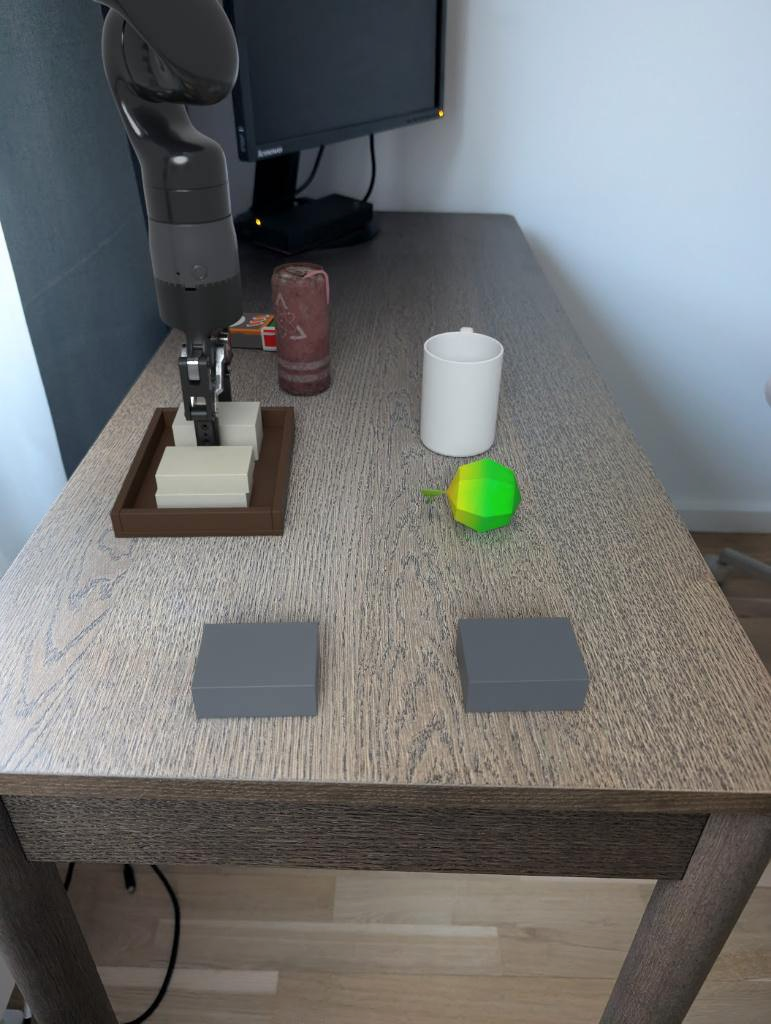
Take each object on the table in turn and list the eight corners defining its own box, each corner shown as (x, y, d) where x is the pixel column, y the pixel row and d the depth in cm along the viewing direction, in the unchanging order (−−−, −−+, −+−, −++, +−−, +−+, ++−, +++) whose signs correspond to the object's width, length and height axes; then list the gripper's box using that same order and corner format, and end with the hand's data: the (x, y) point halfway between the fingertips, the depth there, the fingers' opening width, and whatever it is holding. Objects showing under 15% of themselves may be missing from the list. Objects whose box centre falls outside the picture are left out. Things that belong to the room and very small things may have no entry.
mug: (493, 461, 79) (503, 365, 73) (416, 455, 80) (419, 360, 74) (495, 406, 89) (505, 318, 83) (427, 401, 89) (431, 314, 83)
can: (331, 397, 90) (327, 278, 82) (276, 397, 90) (267, 277, 82) (333, 375, 95) (330, 260, 87) (281, 374, 95) (273, 260, 87)
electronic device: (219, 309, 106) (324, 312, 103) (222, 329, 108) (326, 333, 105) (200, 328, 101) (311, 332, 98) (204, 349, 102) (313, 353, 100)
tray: (115, 538, 68) (109, 513, 66) (159, 428, 84) (156, 407, 82) (282, 535, 68) (280, 511, 67) (295, 427, 84) (294, 406, 83)
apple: (528, 451, 66) (423, 445, 66) (526, 524, 64) (418, 517, 65) (517, 475, 73) (421, 470, 73) (515, 541, 71) (417, 535, 72)
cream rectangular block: (177, 461, 77) (171, 425, 75) (186, 436, 81) (181, 402, 79) (258, 460, 77) (255, 425, 75) (263, 435, 81) (259, 401, 79)
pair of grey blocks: (196, 718, 51) (190, 688, 50) (209, 653, 56) (204, 623, 55) (582, 710, 52) (590, 679, 51) (562, 646, 57) (568, 616, 56)
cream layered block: (158, 513, 70) (151, 476, 67) (169, 482, 74) (162, 446, 71) (251, 512, 70) (247, 474, 68) (256, 481, 74) (253, 445, 72)
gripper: (169, 243, 74) (190, 397, 83) (135, 294, 62) (164, 465, 72) (247, 244, 74) (260, 396, 84) (229, 294, 63) (246, 465, 72)
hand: (216, 428), depth 78 cm, fingers open, 8 cm apart
